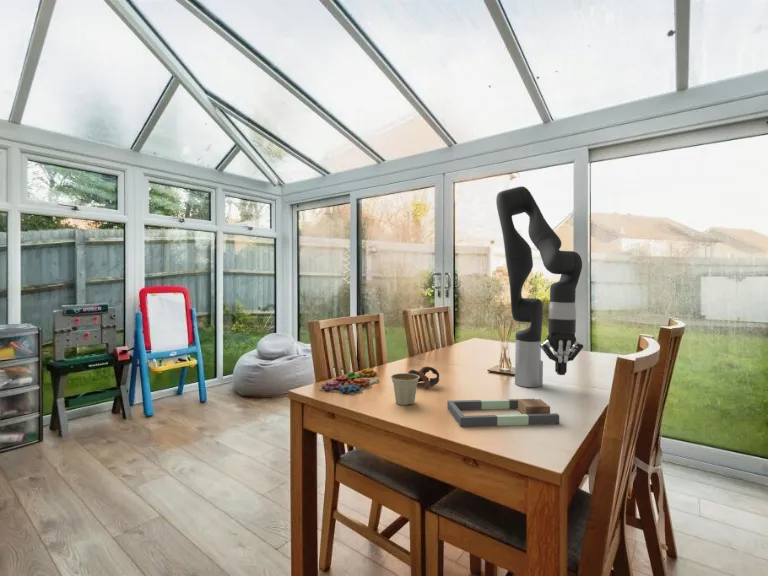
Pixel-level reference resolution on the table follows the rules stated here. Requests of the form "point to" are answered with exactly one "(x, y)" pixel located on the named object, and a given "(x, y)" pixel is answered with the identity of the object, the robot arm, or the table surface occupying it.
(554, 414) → the box
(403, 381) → the flower pot
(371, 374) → the gear puzzle
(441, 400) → the table surface
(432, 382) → the brown ring toy
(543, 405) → the walnut block
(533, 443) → the table surface
